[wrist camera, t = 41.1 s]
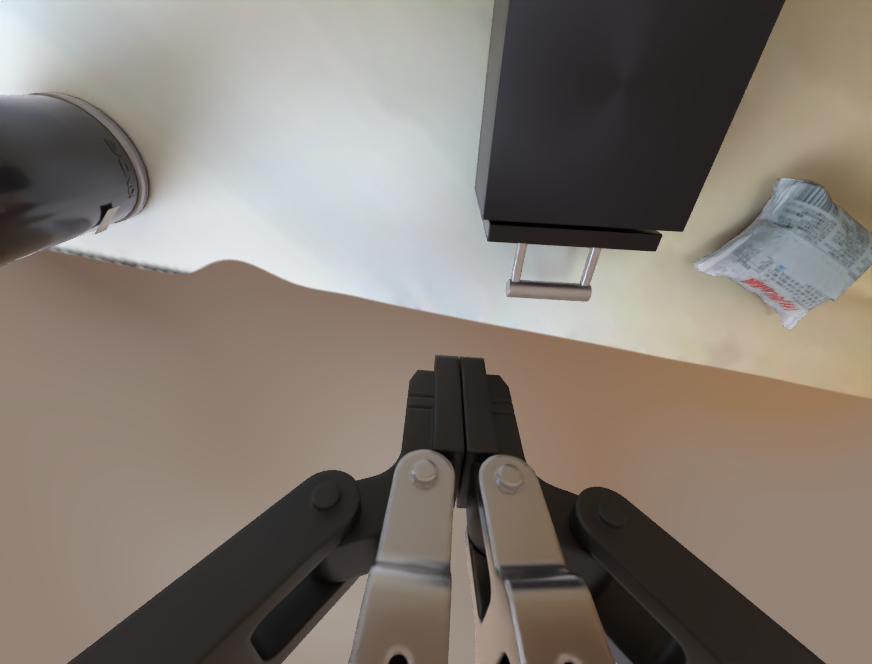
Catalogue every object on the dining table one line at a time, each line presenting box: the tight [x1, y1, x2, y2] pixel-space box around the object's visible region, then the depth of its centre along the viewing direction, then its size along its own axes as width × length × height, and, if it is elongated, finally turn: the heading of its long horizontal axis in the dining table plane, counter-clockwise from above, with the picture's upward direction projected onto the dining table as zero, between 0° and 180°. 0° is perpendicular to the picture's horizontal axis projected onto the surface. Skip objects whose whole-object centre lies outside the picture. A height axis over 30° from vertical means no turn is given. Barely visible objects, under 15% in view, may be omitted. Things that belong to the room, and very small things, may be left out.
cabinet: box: [475, 0, 785, 232], centre depth 22 cm, size 15×13×9 cm
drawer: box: [480, 212, 662, 301], centre depth 25 cm, size 19×11×7 cm, turn 177°
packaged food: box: [693, 178, 872, 329], centre depth 29 cm, size 9×12×5 cm
